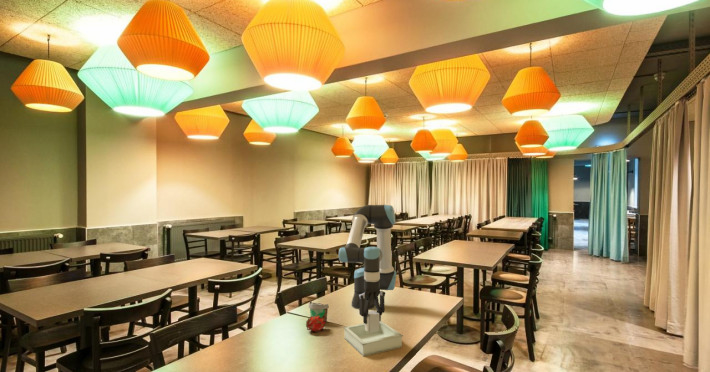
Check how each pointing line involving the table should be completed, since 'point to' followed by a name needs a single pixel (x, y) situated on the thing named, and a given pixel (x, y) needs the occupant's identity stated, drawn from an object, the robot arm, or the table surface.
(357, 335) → the bin
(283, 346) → the table surface
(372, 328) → the stone block
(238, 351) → the table surface
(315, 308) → the food container
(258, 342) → the table surface
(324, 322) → the dragon fruit
